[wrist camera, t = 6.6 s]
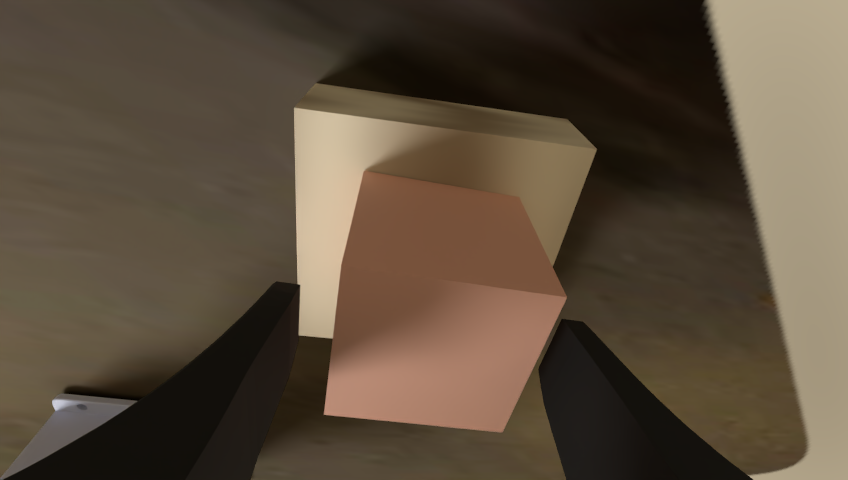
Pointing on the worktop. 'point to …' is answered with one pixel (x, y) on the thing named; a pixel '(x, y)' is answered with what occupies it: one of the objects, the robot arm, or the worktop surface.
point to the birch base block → (419, 171)
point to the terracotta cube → (438, 306)
